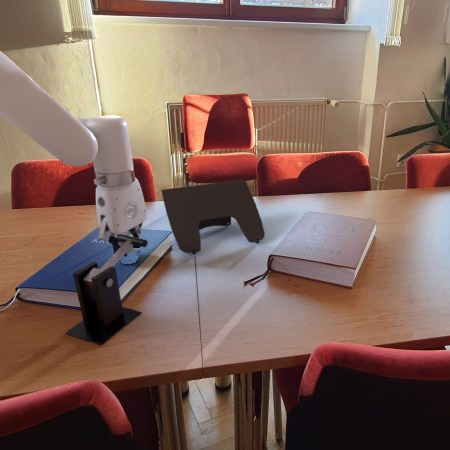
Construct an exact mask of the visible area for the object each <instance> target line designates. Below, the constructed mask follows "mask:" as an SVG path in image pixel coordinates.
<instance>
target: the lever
mask: <svg viewBox="0 0 450 450" xmlns="http://www.w3.org/2000/svg"><path fill="white" fill-rule="evenodd" d="M116 238H117V241H118V242H122V243H124V244H123V245H122V246H121V247H120V248H119V249H118V250H117V252H116V253H115V254H114V253H113V255H112V256H110V258H109V259H108V260H107V261H106V262H105V263H104V264H103V265H102V266H101V267H100V268H98V269H97V268H93V269H92V270H91V271H90V272H89V273H88V274H87V275H86V276H85V278H84V279H83V281H84V282H85V284H86V285H87V287H88V289H92V290H94V289H93V284H92V279H91V278H93V277H94V276H96V275H98V274H99V273H101V272H102V271H104V270H106V269H107V268H109V267H111V266H112V267H116V265H117V264H118V263H119V260H120V259H121V258H122V257H123V256H124V255H125V254H126V253H127V252H128V250H129V249H130V248H131V247H132V246H133V245H136V246H141V248H147V246H148V243H149V242H148V240H147V239H146V238H145V239H144V238H140V237H139V238H136V237H131V236H127V235H122V234H119V235H118V236H117V235H116Z"/></svg>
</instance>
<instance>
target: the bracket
mask: <svg viewBox="0 0 450 450" xmlns="http://www.w3.org/2000/svg"><path fill="white" fill-rule="evenodd" d="M93 268H97V269H99V264H98V262H95V261H92V262H90V263H89V264H86V265H85V266H83V267H82V268H80V269H78V270H76V271H74V272H73V273H72V276H73V280H74V281H73V282H74V285H75V288H76V294H77V298H78V302H79V307H80V312H81V317H82V320H81V321H79V322H78V323H76V324H75V325H74V326H73V327H71V328H70V329H69V330H67V331H66V332H65V333H64V334H65V335H66V336H69V337H72V338H76V339H79V340H81V341H85V342H88V343H91V344H93V345H94V344H95V345H97V346H100V347H102V346H103V345H105V344H106V343H107V342H108V341H110V340H111V339H112V338H113V337H115V336H116V335H117V334H118V333H120V331H122V330H123V329H125V328H126V327H127V326H128V325H129V324H130V323H132V322H133V321H134V320H136V319H137V318H138V317H139V316H141V315H142V314H143V313H142V311H139V310H136V309H132V308H128V307H124V306H123V303H122V298H121V292H120V287H119V280H118V275H117V270H116V266H114V267H112V266H111V267H109V268H107V269H106V270H104V271H102V272H101V273H99V274H98V275H96V276H94V277H93V278H91V279H92V284H93V289H94V290H92V289H88V287H87V285H86V284H85V282H84V281H83V279H84V278H85V276H86V275H87V274H88V273H89V272H90V271H91V270H92V269H93Z"/></svg>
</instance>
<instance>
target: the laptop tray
mask: <svg viewBox="0 0 450 450" xmlns="http://www.w3.org/2000/svg"><path fill="white" fill-rule="evenodd" d="M160 191H161V196H162V200H163V204H164V209H165V212H166V216H167V219H168V222H169V226H170V228H171V229H170V230H171V232H172V235H173V237H174V239H175V241H176V244H177V246H178V249H179V250H180V251H181V252H183V253H185V254H191V256H192V257H193V258H195V257H196V256H197V253H200V252H201V250H202V246H201V245H202V244H201V241H202V240H201V233H200V231H201V230H203V229H207V228H210V227H230V226H231V225H232V218H233V219H234V220H235V221H236V223H237V225H238V227H239V229H240V231H241V232H242V234H243V236H244V237H245V239H246V240H247V242H248V243H251V244H252V243H253V244H254V245H255V246H259V244H260V241H262V240H263V239H264V238H265V235H266V233H265V229H264V225H263V222H262V217H261V215H260V211H259V209H258V207H257V204H256V202H255V198H254V196H253V194H252V192H251V189H250V188H249V185H248V183H247V181H246V179H239V180H231V181H223V182H214V183H205V184H198V185H197V184H196V185H190V186H189V185H187V186H179V187H172V188H164V189H163V188H162V189H161V190H160Z"/></svg>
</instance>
